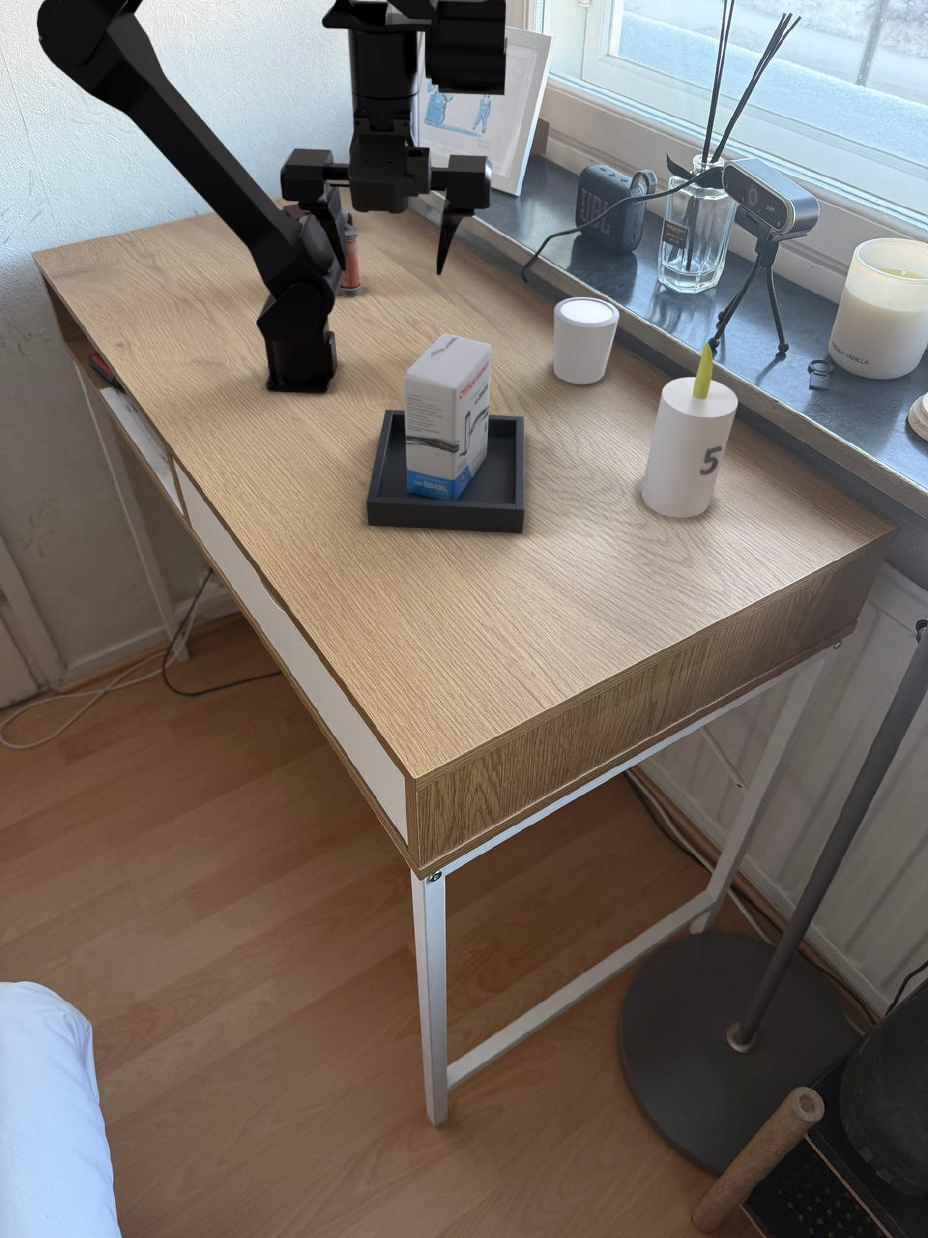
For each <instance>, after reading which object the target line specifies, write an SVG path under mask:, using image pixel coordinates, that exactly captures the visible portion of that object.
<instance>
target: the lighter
mask: <svg viewBox="0 0 928 1238" xmlns="http://www.w3.org/2000/svg"><path fill="white" fill-rule="evenodd" d="M304 211H307V210H304ZM307 212H310V211H307ZM347 212H348V209H345V208H342V214H343V221H344V229H345V236H346V243H347V254H348V268H347V271H344V272H343V280H342V283H341V286H340V289H339V292H338V295H340V296H344V297H356V296H359V295H360V294H362V283H361V282H360V270H359V269H360V267H359V266H360V265H359V251H358V250H359V249H358V238H359V228H357V227H355V226H354V225H353V226H351V225H349V224H347V220H348V213H349V212H348V213H347ZM306 217H307V216H304V217H302V218H300V220H299V221H300V223H302V222H303V221H304V220H305V219H306ZM313 217H314V218H315V219H316V220H317V222H318V223H319V225H320V227H321V228H322V230H323V231H324V229H323V227H322V226H321V224H320V222H319V221H318V219H317V218H316V217H315V216H314V215H313ZM324 233H325V231H324ZM325 234H326V233H325Z"/></svg>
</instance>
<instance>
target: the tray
mask: <svg viewBox="0 0 928 1238" xmlns="http://www.w3.org/2000/svg"><path fill="white" fill-rule="evenodd" d="M366 513H367V515H366V517H367V525H368V526H379V527H400V528H401V527H402V528H419V529H420V528H421V529H439V530H460V531H475V532H476V531H480V532H495V533H498V532H499V533H516V534H517V533H518V534H522V533H523V530H524V520H525V519H524V518H525V416H521V415H502V414H489V416H488V438H487V456H486V458H485V460H484V461H483V463H482V464H481V466H480V467H479V469H478V470H477V472H476V473H475V474H474V476H473V478H472V479H471V481H470V482H469V484H468V485H467V487H466V488H465V489H464V491H463V492H462V494H461V495H460V497H459V498H458V500H457V501H449V500H437V499H433V498H429V497H425V496H421V495H417V494H413V493H409V492H408V486H407V462H406V432H405V409H404V410H402V409H400V410H399V409H385V410H384V415H383V420H382V425H381V430H380V434H379V439H378V444H377V449H376V453H375V458H374V464H373V468H372V473H371V478H370V483H369V488H368V493H367V498H366Z"/></svg>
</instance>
